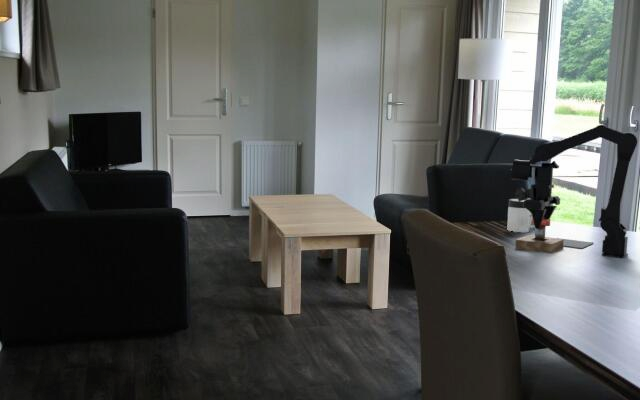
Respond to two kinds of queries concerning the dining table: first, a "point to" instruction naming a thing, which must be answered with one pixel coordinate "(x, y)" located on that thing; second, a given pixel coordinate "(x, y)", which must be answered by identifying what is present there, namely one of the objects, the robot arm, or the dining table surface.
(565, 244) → the mat
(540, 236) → the no entry disc
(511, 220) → the jar
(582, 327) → the dining table surface
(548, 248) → the eye block
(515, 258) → the dining table surface
